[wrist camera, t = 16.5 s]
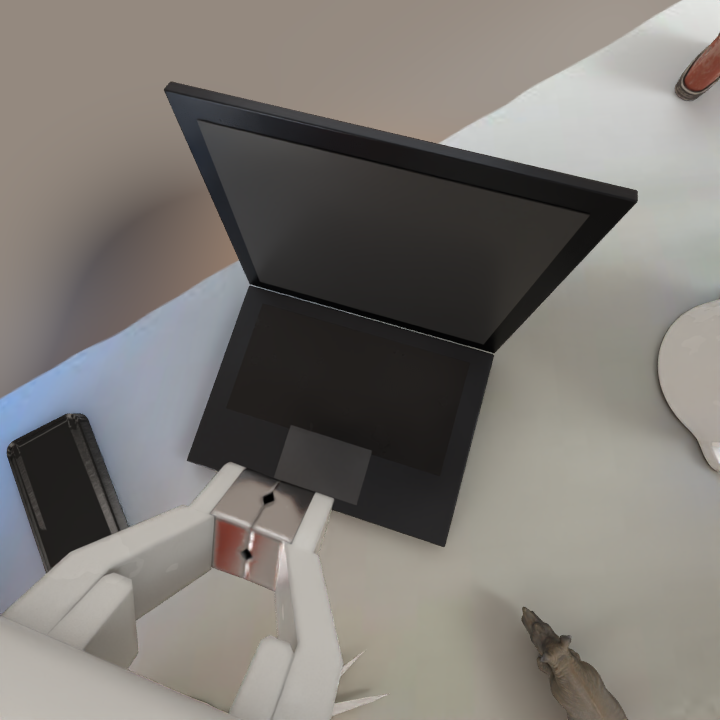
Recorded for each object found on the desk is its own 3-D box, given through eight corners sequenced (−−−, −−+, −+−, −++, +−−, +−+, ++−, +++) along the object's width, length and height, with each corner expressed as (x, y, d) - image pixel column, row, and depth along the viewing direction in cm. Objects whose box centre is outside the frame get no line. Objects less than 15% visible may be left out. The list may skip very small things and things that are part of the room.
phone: (75, 409, 35) (128, 554, 33) (84, 409, 36) (136, 549, 34) (2, 446, 35) (51, 594, 33) (14, 445, 36) (62, 588, 34)
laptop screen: (638, 203, 17) (638, 189, 17) (161, 90, 19) (170, 80, 19) (494, 354, 33) (495, 346, 34) (249, 285, 36) (252, 278, 36)
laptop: (441, 540, 33) (445, 548, 31) (195, 458, 35) (185, 461, 33) (488, 357, 35) (494, 354, 33) (255, 291, 37) (248, 284, 35)
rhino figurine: (531, 575, 32) (566, 613, 26) (627, 726, 30) (688, 803, 24) (493, 600, 32) (520, 643, 26) (587, 753, 30) (639, 837, 24)
